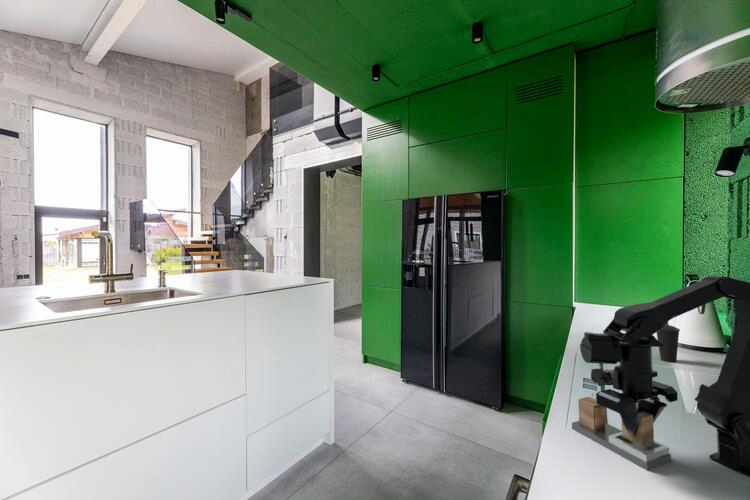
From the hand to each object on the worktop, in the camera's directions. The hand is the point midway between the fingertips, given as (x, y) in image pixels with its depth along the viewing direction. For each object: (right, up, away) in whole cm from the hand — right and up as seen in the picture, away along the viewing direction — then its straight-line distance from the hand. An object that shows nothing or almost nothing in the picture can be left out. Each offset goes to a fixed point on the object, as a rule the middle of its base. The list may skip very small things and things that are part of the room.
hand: (637, 433), depth 70 cm
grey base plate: (-2, -5, +4) cm, 7 cm away
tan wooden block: (0, -1, 0) cm, 1 cm away
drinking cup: (+64, -5, +60) cm, 88 cm away
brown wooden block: (-4, -3, +10) cm, 11 cm away
